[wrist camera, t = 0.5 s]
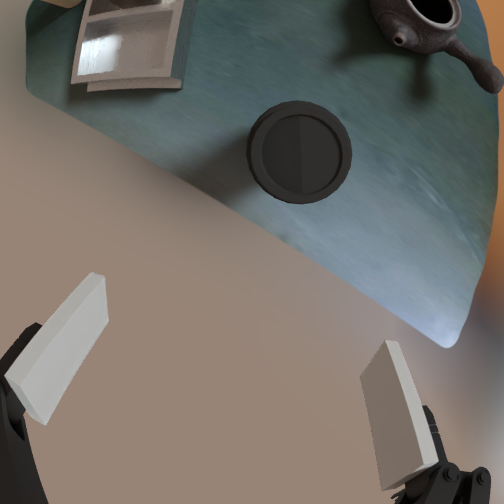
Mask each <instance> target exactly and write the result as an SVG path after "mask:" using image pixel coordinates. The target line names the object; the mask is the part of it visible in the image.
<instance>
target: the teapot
mask: <svg viewBox="0 0 504 504" xmlns="http://www.w3.org/2000/svg"><path fill="white" fill-rule="evenodd" d="M369 5H370V10H371V13H372V15H373V17H374V19H375V20H376V22H377V23H378V25H379V26H380V28H381V30H382V33H383V35H384V36H385V38H386V39H387V40H388V41H389V42H391V43H392V44H393V45H396V46H399V47H403V48H407V49H409V50H411V51H414V52H418V53H423V54H431V53H437V52H442V51H444V52H446V53H448V54H449V55H451V56H454V57H456V58H458V59H460V60H461V61H463V62H464V63H465V64H466V65H467V67H468V68H469V70H470V71H471V73H472V74H473V77H474V79H475V80H476V82H477V83H478V84H479V86H480V87H482V88H483V89H484V90H485V91H487V92H489V93H491V94H496V93H499V91H500V90H501V89H502V87H503V84H504V77H503V75H502V73H501V72H500V70H499V69H498V68H497V67H496V66H494V65H493V64H492V63H490V62H489V61H487V60H484V59H481V58H479V57H477V56H475V55H473V54H472V53H470V52H469V51H468V50H467V49H466V47H465V46H464V45H463V43H462V42H461V41H460V40H459V39H458V38H457V37H456V32H457V28H458V26H459V25H460V23H461V19H462V12H461V8H460V5H459V3H458V1H457V0H369Z"/></svg>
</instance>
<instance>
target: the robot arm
mask: <svg viewBox="0 0 504 504" xmlns="http://www.w3.org/2000/svg"><path fill="white" fill-rule="evenodd" d="M108 322H109V319H108V310H107V298H106V285H105V277H104V276H102V275H99V274H96V273H93V272H91V273H90V274H89V275H88V276H87V277H86V278H85V279H84V280H83V281H82V282H81V283H80V284H79V285H78V286H77V288H76V289H75V290H74V291H73V292H72V293H71V294H70V295H69V296H68V297H67V298H66V300H65V301H64V302H63V303H62V304H61V305H60V306H59V307H58V309H57V310H56V311H55V312H54V313H53V314H52V316H51V317H50V318H49V319H48V320H47V321H46V323H45V324H44V325H43V326H42V325H40V324H38V323H34V324H32V325H31V326H29V327H27V328H26V329H25V330H24V331H23V333H22V334H21V335H20V336H19V338H18V339H17V340H16V341H15V342H14V344H13V345H12V346H11V347H10V348H9V350H8V351H7V352H6V353H5V354H4V356H3V357H2V358H1V360H0V504H48V501H47V498H46V495H45V493H44V490H43V487H42V484H41V481H40V478H39V475H38V472H37V469H36V465H35V462H34V458H33V454H32V451H31V447H30V442H29V439H28V434H27V429H26V424H25V419H24V416H23V414H24V412H25V410H26V411H27V412H28V414H29V415H30V417H32V418H33V419H35V420H36V421H38V422H40V423H42V424H43V425H45V426H46V424H47V422H48V421H49V419H50V417H51V415H52V413H53V411H54V410H55V408H56V406H57V404H58V402H59V401H60V399H61V397H62V395H63V394H64V392H65V390H66V389H67V387H68V385H69V383H70V382H71V380H72V378H73V377H74V375H75V373H76V372H77V370H78V368H79V367H80V365H81V364H82V362H83V360H84V359H85V357H86V356H87V354H88V352H89V351H90V349H91V348H92V346H93V345H94V343H95V342H96V340H97V338H98V337H99V335H100V334H101V332H102V331H103V329H104V328H105V326H106V324H107V323H108ZM360 379H361V384H362V388H363V393H364V397H365V402H366V407H367V411H368V416H369V421H370V426H371V432H372V437H373V442H374V448H375V454H376V460H377V465H378V472H379V479H380V486H381V491H382V490H390V489H396V488H397V487H399V486H401V485H403V484H405V489H403V490H401V491H399V492H398V493H396V494H394V495H393V496H392V497H391V499H393V498H395V497H397V496H399V497H398V498H397V499H396V500H395V501H396V502H395V504H489V499H490V488H491V476H490V473H489V471H488V470H487V469H486V468H484V467H479V468H477V469H475V470H474V471H472V472H464V471H460V470H459V468H458V467H457V466H456V465H455V464H453V463H451V462H448V460H447V458H446V455H445V451H444V448H443V444H442V441H441V438H440V434H439V433H438V428H437V426H436V422H435V419H434V416H433V414H432V412H431V411H430V410H429V408H428V407H427V406H422V405H421V402H420V399H419V396H418V393H417V390H416V388H415V385H414V382H413V380H412V377H411V374H410V372H409V369H408V366H407V364H406V361H405V359H404V357H403V354H402V351H401V349H400V346H399V344H398V342H396V341H389V340H385V341H384V342H383V344H382V345H381V347H380V348H379V350H378V351H377V353H376V354H375V356H374V357H373V359H372V360H371V362H370V363H369V364H368V366H367V367H366V369H365V370H364V372H363V373H362V374H361V376H360Z"/></svg>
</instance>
